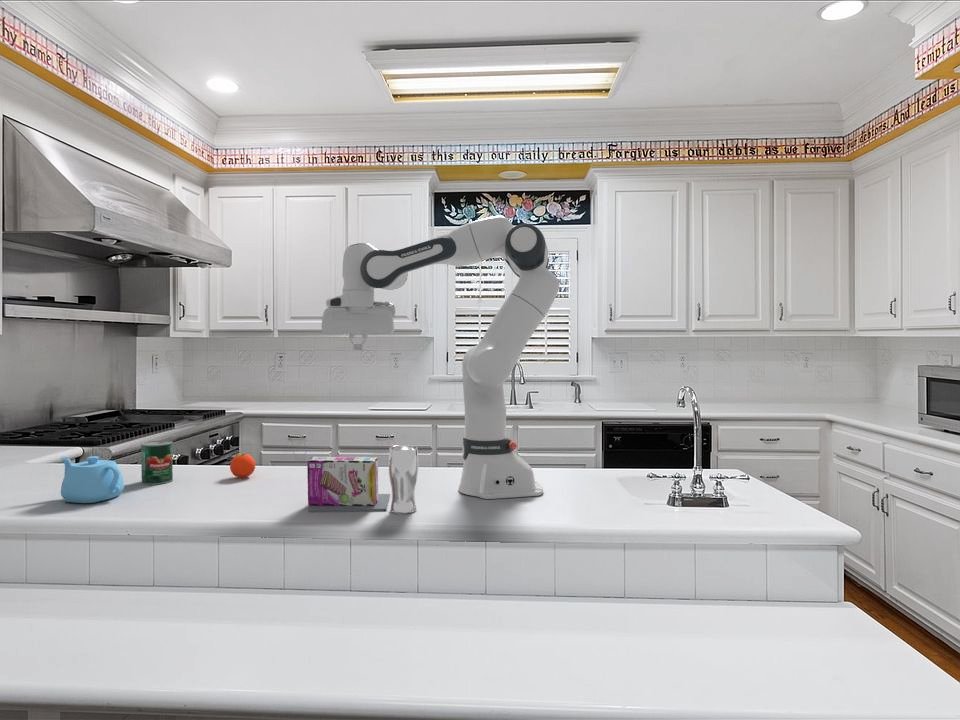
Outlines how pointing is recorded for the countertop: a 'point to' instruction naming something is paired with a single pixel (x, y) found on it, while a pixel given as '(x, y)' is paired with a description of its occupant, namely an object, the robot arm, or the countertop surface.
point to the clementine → (242, 465)
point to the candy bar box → (342, 481)
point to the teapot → (91, 480)
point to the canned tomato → (156, 462)
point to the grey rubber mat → (379, 506)
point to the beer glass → (403, 478)
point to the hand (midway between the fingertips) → (358, 350)
